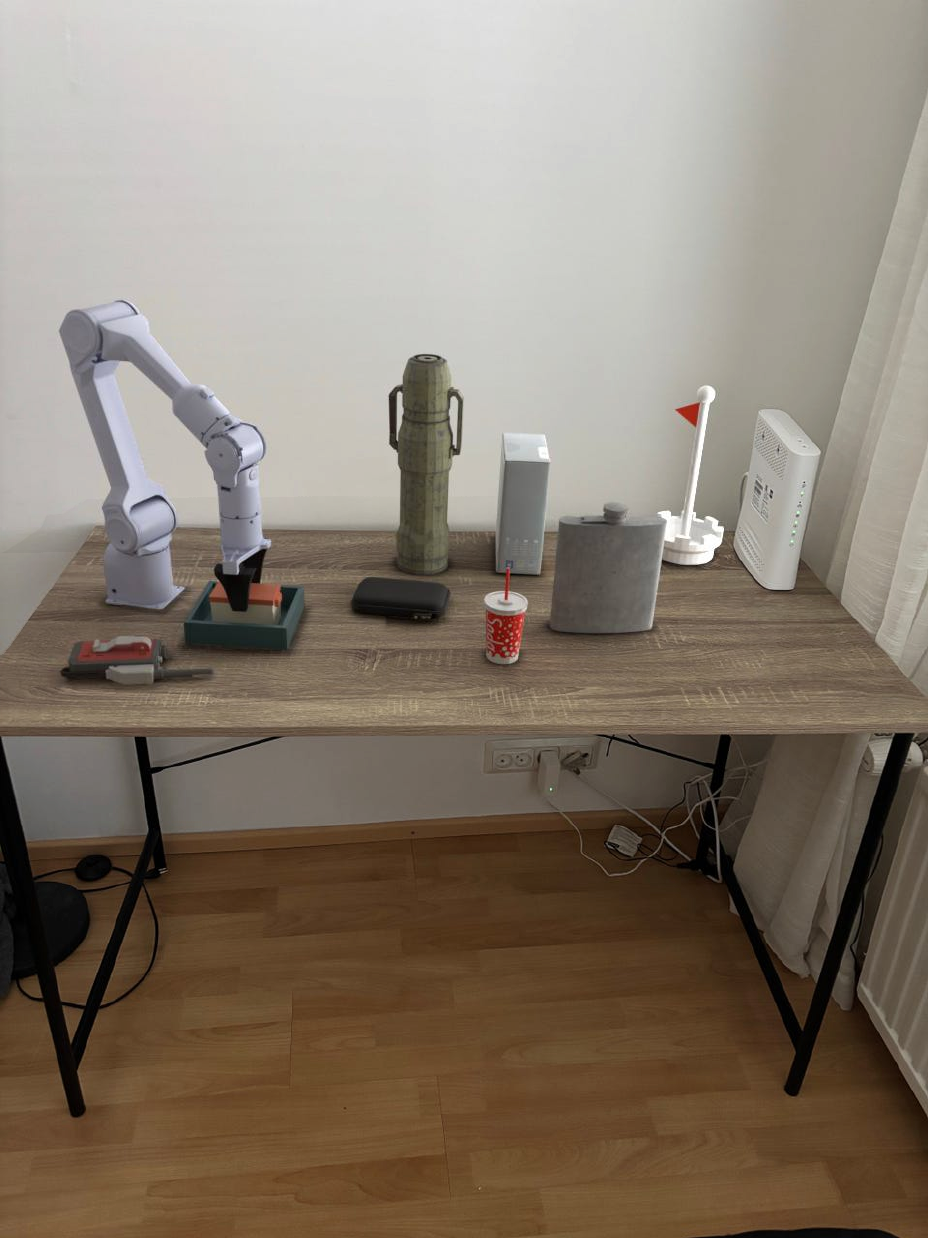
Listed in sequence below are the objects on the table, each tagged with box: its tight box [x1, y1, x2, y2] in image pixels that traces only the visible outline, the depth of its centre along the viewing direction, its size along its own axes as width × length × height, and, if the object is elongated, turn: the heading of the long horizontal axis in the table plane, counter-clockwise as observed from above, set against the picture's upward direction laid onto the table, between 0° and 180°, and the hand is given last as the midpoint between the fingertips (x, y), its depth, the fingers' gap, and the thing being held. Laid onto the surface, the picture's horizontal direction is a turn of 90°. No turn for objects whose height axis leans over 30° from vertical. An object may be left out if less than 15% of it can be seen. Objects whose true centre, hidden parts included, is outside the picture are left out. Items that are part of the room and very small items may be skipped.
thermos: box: [388, 353, 465, 576], centre depth 166 cm, size 9×12×35 cm
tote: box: [183, 580, 306, 651], centre depth 151 cm, size 15×14×4 cm
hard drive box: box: [495, 432, 552, 576], centre depth 174 cm, size 16×8×20 cm, turn 179°
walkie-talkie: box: [60, 635, 215, 685], centre depth 139 cm, size 9×4×20 cm
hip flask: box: [549, 501, 667, 634], centre depth 152 cm, size 16×4×20 cm, turn 95°
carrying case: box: [350, 576, 452, 621], centre depth 158 cm, size 11×3×15 cm
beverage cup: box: [483, 567, 529, 665], centre depth 144 cm, size 6×6×14 cm
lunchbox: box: [209, 580, 282, 625], centre depth 150 cm, size 10×5×6 cm, turn 87°
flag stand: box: [656, 385, 724, 566], centre depth 176 cm, size 13×13×30 cm
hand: (246, 598), depth 150 cm, fingers open, 7 cm apart
